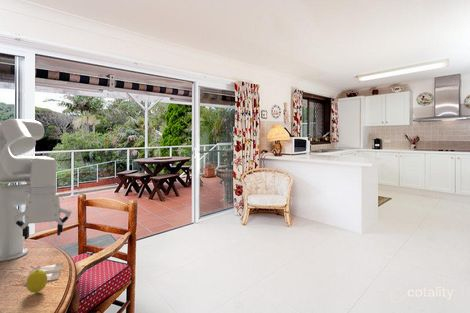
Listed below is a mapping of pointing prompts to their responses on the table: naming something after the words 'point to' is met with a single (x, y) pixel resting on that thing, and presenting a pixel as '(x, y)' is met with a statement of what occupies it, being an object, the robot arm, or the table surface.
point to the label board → (50, 271)
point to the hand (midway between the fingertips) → (43, 236)
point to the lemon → (36, 281)
